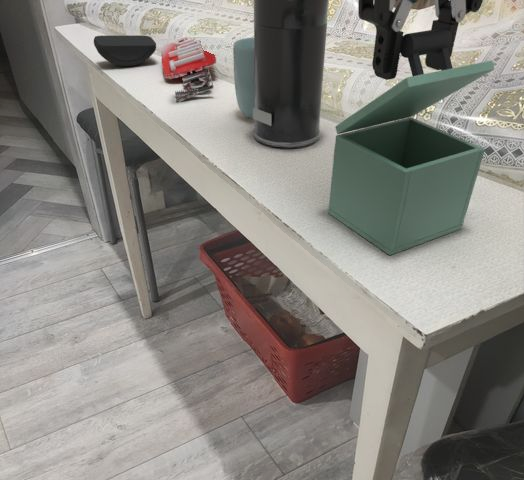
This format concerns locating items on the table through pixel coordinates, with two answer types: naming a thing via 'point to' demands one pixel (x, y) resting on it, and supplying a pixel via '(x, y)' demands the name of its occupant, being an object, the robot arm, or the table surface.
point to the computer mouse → (125, 49)
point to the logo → (187, 65)
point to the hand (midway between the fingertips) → (410, 71)
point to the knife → (202, 78)
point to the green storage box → (402, 183)
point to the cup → (244, 75)
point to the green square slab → (417, 82)
